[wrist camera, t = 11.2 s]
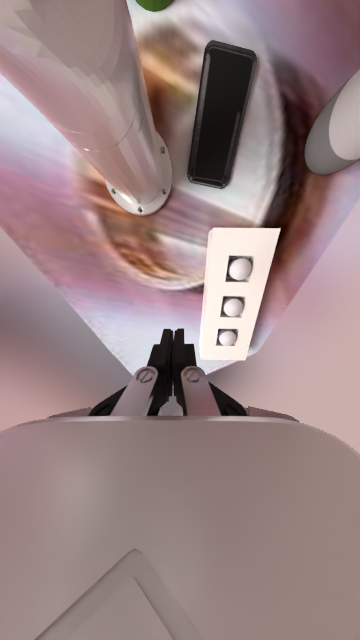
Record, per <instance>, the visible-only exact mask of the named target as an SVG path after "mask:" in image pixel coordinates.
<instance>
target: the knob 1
mask: <svg viewBox="0 0 360 640" xmlns="http://www.w3.org/2000/svg"><path fill="white" fill-rule="evenodd" d="M217 336H218V338H219V341H220V343H221V344H222V345H224V346H230V345H232V344H234V343H235V341H236V335H235V334H234V332H233V331H232V329H218V335H217Z"/></svg>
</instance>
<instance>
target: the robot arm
mask: <svg viewBox="0 0 360 640" xmlns="http://www.w3.org/2000/svg"><path fill="white" fill-rule="evenodd" d="M0 74H1V75H2V76H3V77H5V78H6V79H7V80H8V81H9V82H10V83H11V84H12V85H13V86H14V87H15V88H16V89H17V90H18V91H19V92H20V93H21V94H22V95H23V96H24V97H25V98H26V99H27V100H28V101H29V102H31V103H32V104H33V105H34V106H35V107H36V108H37V109H38V110H39V111H40V112H41V113H42V114H43V115H44V116H45V117H46V119H47V120H48V121H49V122H50V123H51V124H52V125H53V126H54V127H55V128H56V129H57V130H58V131H59V132H60V133H61V134H62V135H63V136H64V137H65V138H66V139H67V140H68V141H69V142H70V143H71V144H72V145H73V146H74V147H75V148H76V149H77V150H78V151H79V152H80V153H81V154H82V155H83V157H84V158H85V159H86V160H87V161H88V162H89V163H90V164H91V165H92V166H93V167H94V168H95V169H96V170H97V171H98V172H99V173H100V174H101V175H102V176H103V177H104V180H105V183H106V185H107V188H108V190H109V192H110V194H111V196H112V197H113V198H114V200H115V201H116V202H117V203H118V204H119V205H120V206H121V207H122V208H123V209H124V210H126V211H127V212H129V213H131V214H134V215H137V216H146V215H150V214H153V213H155V212H156V211H158V210H159V209H160V208H161V207H162V206H163V205H164V203H165V201H166V200H167V198H168V195H169V193H170V189H171V185H172V165H171V159H170V155H169V152H168V149H167V147H166V145H165V142H164V140H163V139H162V137H161V136H160V135H159V133H158V132H157V131H156V130H155V127H154V122H153V118H152V113H151V109H150V104H149V99H148V95H147V90H146V85H145V81H144V76H143V72H142V67H141V62H140V58H139V53H138V49H137V44H136V40H135V35H134V31H133V26H132V21H131V17H130V14H129V10H128V6H127V2H126V0H0ZM163 152H164V154H162V153H163ZM115 192H116V194H115ZM164 192H165V193H166V194H165V195H164V194H163V193H164ZM140 210H142V212H140ZM173 387H174V396H176V398H177V403H178V404H179V405H180V406H181V407H182V412H183V416H160V415H161V412H162V406H163V405H164V404H165V403H166V402H168V401H169V396H172V388H173ZM0 640H360V454H359V453H358V452H356V451H355V450H354V449H353V448H351V447H350V446H349V445H348V444H346V443H345V442H343V441H342V440H340V439H338V438H337V437H335V436H333V435H331V434H329V433H327V432H324V431H323V430H320V429H318V428H315V427H312V426H309V425H306V424H304V423H300V422H299V421H298V420H296V419H295V418H293V417H292V416H289V415H286V414H281V413H276V412H272V411H268V410H263V409H258V408H254V407H249V406H248V408H244V407H243V406H242V405H241V404H239V403H238V402H237V401H235V400H234V399H233V398H231V397H230V396H228V395H227V394H225V393H224V392H223V391H221V390H220V389H218V388H217V387H215V386H214V385H213V384H211V383H210V382H208V380H207V378H206V375H205V373H204V371H203V370H202V369H201V368H199V367H197V365H196V358H195V350H194V344H184V329H177V330H175V335H174V338H173V331H171V329H164V330H163V334H162V338H161V342H160V344H154V346H153V348H152V352H151V355H150V358H149V361H148V364H147V366H146V367H143V368H140V369H139V370H137V371H136V373H135V374H134V376H133V377H132V379H131V381H130V382H129V384H128V385H127V386H126V387H124V388H122V389H121V390H119V391H118V392H116V393H115V394H113V395H111V396H110V397H108V398H107V399H105V400H104V401H102V402H100V403H99V404H98V405H96V406H95V407H94V408H93V409H91V407H88V408H84V409H79V410H74V411H70V412H65V413H61V414H56V415H52V416H50V417H47V418H46V419H39V420H33V421H29V422H25V423H21V424H17V425H15V426H12V427H9V428H6V429H3V430H0Z"/></svg>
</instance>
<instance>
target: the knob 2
mask: <svg viewBox="0 0 360 640" xmlns="http://www.w3.org/2000/svg"><path fill="white" fill-rule="evenodd" d="M250 272H251V263H250V262H249V261H248V260H247V259H231V260H229V261H228V266H227V273H226V275H227V276H228V277H231V278H233V279H236V280H243V279H245V278H246V277H248V275H249V274H250Z"/></svg>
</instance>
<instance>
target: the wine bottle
mask: <svg viewBox="0 0 360 640" xmlns="http://www.w3.org/2000/svg"><path fill="white" fill-rule="evenodd" d="M171 1H172V0H136V2H137V3H138V4H139V5H141V6H142V7H143V8H144V9H146V10H150V11H153V12H154V11H159V10H162V9H164V8H165V7H166V6H168V5H169V4H170V3H171Z"/></svg>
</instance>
